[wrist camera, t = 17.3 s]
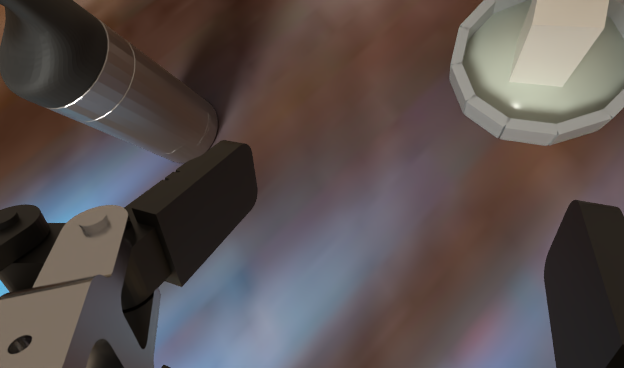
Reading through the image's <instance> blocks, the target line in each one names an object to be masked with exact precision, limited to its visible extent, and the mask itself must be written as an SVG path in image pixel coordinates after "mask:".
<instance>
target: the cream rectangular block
mask: <svg viewBox="0 0 624 368" xmlns="http://www.w3.org/2000/svg"><path fill="white" fill-rule="evenodd" d="M608 4H609V0H532V3H531V5H530V8H529V11H528V13H527V16H526V19H525V22H524V24H523V27H522V30H521V32H520V35H519V38H518V40H517V45H516V50H515V55H514V59H513V64H512V69H511V74H510V78H509V82H516V83H526V84H536V85H547V86H557V87H563V85H564V84H565V83H566V81H567V80H568V78H569V77H570V76H571V74H572V73H573V71H574V70H575V69H576V67H577V66H578V64H579V63H580V62H581V60H582V59H583V57H584V56H585V55H586V53H587V52H588V50H589V49H590V47H591V46H592V45H593V43H594V42H595V40H596V39H597V38H598V36H599V35H600V33H601V32H602V31H603V29H604V27H605V21H606V16H607V10H608Z"/></svg>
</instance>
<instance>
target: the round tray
mask: <svg viewBox="0 0 624 368" xmlns="http://www.w3.org/2000/svg"><path fill="white" fill-rule="evenodd" d="M531 3H532V0H484V1H483V2H482V3H481V4H480V5H479V6H478V7H477V8H476V9H475V10H474V11H473V12H472V13H471V14H470V15H469V17H468V18H467V19H466V20H465V21H464V22H463V23H462V24H461V25H460V27H459V30H458V35H457V39H456V43H455V48H454V52H453V56H452V60H451V67H450V82H451V85H452V87H453V90H454V92H455V95H456V97H457V100H458V102H459V104H460V107H461V109H462V112H463V113H464V115H466V116H467V117H468V118H470V119H471V120H473V121H474V122H475V123H477V124H478V125H480V126H481V127H483V128H484V129H485V130H487V131H488V132H490V133H491V134H492V135H494V136H495V137H497V138H499V136H500V139H503V140H510V141H517V142H524V143H531V144H538V145H545V146H547V145H553V144H556V143H559V142H563V141H566V140H569V139H572V138H576V137H579V136H582V135H586V134H589V133H592V132H595V131H597V130H599V129H600V128H602V127H603V126H604V125H605V124H606V123H607V122H609V121H610V120H611V119H612V118H613V117H614V116H615V115H616V114H617V113H618V112H619V111H620V110H621V109H622V108H623V107H624V0H609V4H608V10H607V16H606V21H605V27H604V29H603V31H602V32H601V33H600V35H599V36H598V38H597V39H596V40H595V42H594V43H593V45H592V46H591V47H590V49H589V50H588V52H587V53H586V55H585V56H584V57H583V59H582V60H581V62H580V63H579V64H578V66H577V67H576V69H575V70H574V71H573V73H572V74H571V76H570V77H569V78H568V80H567V81H566V83H565V84H564V85H563V87H557V86H547V85H536V84H526V83H516V82H509V78H510V74H511V69H512V64H513V59H514V55H515V50H516V45H517V40H518V38H519V35H520V32H521V30H522V27H523V24H524V22H525V19H526V16H527V13H528V11H529V8H530V5H531Z"/></svg>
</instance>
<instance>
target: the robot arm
mask: <svg viewBox="0 0 624 368" xmlns="http://www.w3.org/2000/svg"><path fill="white" fill-rule="evenodd" d="M0 4H1V5H3V6H5V14H6V21H5V28H4V33H3V37H2V42H1V46H0V72H1V76H2V78H3V80H4V82H5V84H6V85H7V87H8V88H9V89H10V90H11V91H12V92H14V93H15V94H17V95H18V96H20V97H22V98H24V99H26V100H28V101H31V102H33V103H35V104H38V105H40V106H43V107H45V108H48V109H50V110H52V111H55V112H57V113H59V114H62V115H64V116H67V117H69V118H71V119H74V120H76V121H79V122H81V123H84V124H86V125H88V126H91V127H93V128H95V129H98V130H100V131H102V132H105V133H107V134H110V135H112V136H114V137H117V138H119V139H121V140H124V141H126V142H128V143H131V144H133V145H136V146H138V147H140V148H143V149H145V150H147V151H150V152H152V153H154V154H156V155H159V156H161V157H164V158H166V159H168V160H171V161H173V162H177V163H185V164H183V165H182V166H181V167H179V168H178V169H177V170H176V172H172V173H171V174H170V175H168V176H167V177H166V178H165V180H162V181H160V182H159V183H157V184H156V185H155V186H153V187H152V188H151V189H149V190H148V191H146V192H145V193H144V194H142V195H141V196H140V197H138V198H137V199H136V200H134V201H133V202H131V203H130V204H129V205H127V206H126V207H125V208H123V207H120V206H116V205H106V206H99V207H95V208H92V209H89V210H86V211H84V212H82V213H80V214H78V215H76V216H75V217H73V218H72V219H71V220H69V221H68V222H67V223H47V222H46V220H45V218H44V216H43V215H42V213H41V211H40V209H39V208H38V207H36V206H34V205H17V206H12V207H8V208H5V209H2V210H0V280H1V281H2V282H3V284H4V285H5V286H6V288H7V289H8V290H9V292H10V293H6V294H4V295H2V296H1V297H0V368H154V361H153V359H154V349H155V340H156V332H157V323H158V315H159V307H160V298H161V294H160V290H159V288H158V287H159V286H160V285H161V284H162V283H163V282H164V281H166V282H169V283H172V284H175V285H178V286H180V287H182V286H183V285H184V284H185V283H186V282H187V281H188V280H189V278H190V277H191V276H192V275H193V274H194V273H195V272H196V271H197V270H198V268H199V267H200V266H201V265H202V264H203V263H204V262H205V261H206V259H207V258H208V257H209V256H210V255H211V254H212V253H213V252H214V251H215V249H216V248H217V247H218V246H219V245H220V244H221V243H222V242H223V241H224V239H225V238H226V237H227V236H228V235H229V234H230V233H231V232H232V230H233V229H234V228H235V227H236V226H237V225H238V224H239V223H240V222H241V220H242V219H243V218H244V217H245V216H246V215H247V214H248V213H249V211H250V210H251V209H252V208H253V206H254V204H255V202H256V199H257V183H256V176H255V169H254V163H253V156H252V151H251V148H250V147H249V145H247V144H244V143H238V142H232V141H226V140H223V141H220V142H219V143H217V144H216V145H215V146H213V147H212V148H211V149H209V148H210V146H211V145H212V143H213V141H214V139H215V136H216V133H217V128H218V119H217V114H216V112H215V110H214V108H213V107H212V105H211V104H210V103H208V102H207V101H206V100H205V99H203V98H202V97H201V96H199V95H198V94H197V93H195V92H194V91H193V90H192V89H190V88H189V87H188V86H186V85H185V84H184V83H182V82H181V81H180V80H178V79H177V78H176V77H174V76H173V75H172V74H170V73H169V72H168V71H166V70H165V69H164V68H163V67H161V66H160V65H159V64H157V63H156V62H155V61H153V60H152V59H151V58H149V57H148V56H147V55H145V54H144V53H143V52H141V51H140V50H139V49H137V48H136V47H135V46H133V45H132V44H131V43H129V42H128V41H127V40H125V39H124V38H122V37H121V36H120V35H118V34H117V33H116V32H114V31H113V30H112V29H110V28H109V27H108V26H107V25H105V24H104V23H103V22H101V21H100V20H98V19H97V18H96V17H94V16H93V15H92V14H90V13H89V12H88V11H86V10H85V9H84V8H82V7H81V6H79V5H78V4H77V3H75V2H74V1H73V0H0ZM208 149H209V150H208ZM207 150H208V151H207ZM206 151H207V152H206ZM544 282H545V289H546V296H547V303H548V310H549V318H550V325H551V332H552V339H553V347H554V354H555V361H556V368H624V216H623V214H622V212H621V210H620V209H619V208H618V207H614V206H608V205H603V204H597V203H591V202H585V201H579V200H574V201H572V202H571V203H570V205H569V207H568V209H567V211H566V213H565V215H564V218H563V220H562V222H561V224H560V227H559V229H558V231H557V234H556V236H555V238H554V240H553V243H552V245H551V247H550V250H549V252H548V255H547V258H546V262H545V269H544ZM162 368H170V367H168V366H166V365H163V366H162Z"/></svg>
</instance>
